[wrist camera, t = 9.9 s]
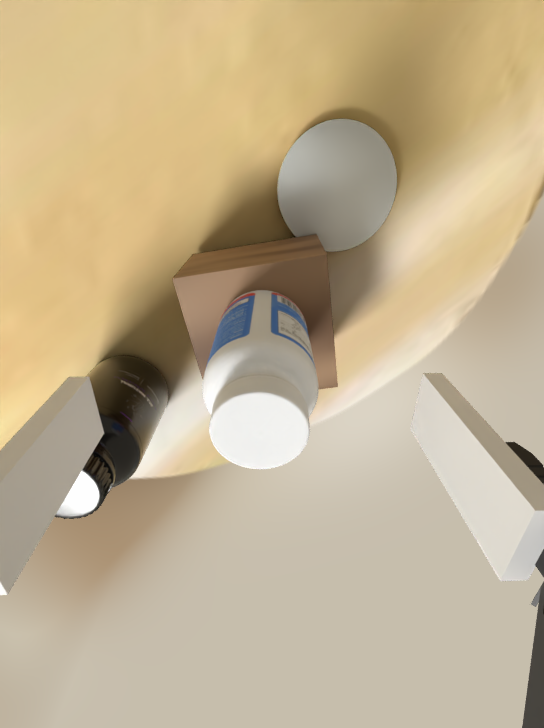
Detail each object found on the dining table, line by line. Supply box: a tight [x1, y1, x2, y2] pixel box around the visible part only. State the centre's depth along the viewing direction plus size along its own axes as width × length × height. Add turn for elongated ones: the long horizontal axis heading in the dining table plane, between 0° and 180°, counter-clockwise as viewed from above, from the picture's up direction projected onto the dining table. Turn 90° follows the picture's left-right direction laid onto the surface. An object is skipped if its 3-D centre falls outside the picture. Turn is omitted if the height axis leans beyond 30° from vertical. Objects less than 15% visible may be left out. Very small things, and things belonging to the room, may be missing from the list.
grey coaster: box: [277, 119, 397, 252], centre depth 25 cm, size 8×8×1 cm
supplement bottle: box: [55, 356, 168, 519], centre depth 26 cm, size 7×7×12 cm
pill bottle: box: [202, 290, 318, 469], centre depth 18 cm, size 6×5×10 cm
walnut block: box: [172, 234, 338, 389], centre depth 25 cm, size 9×9×6 cm
